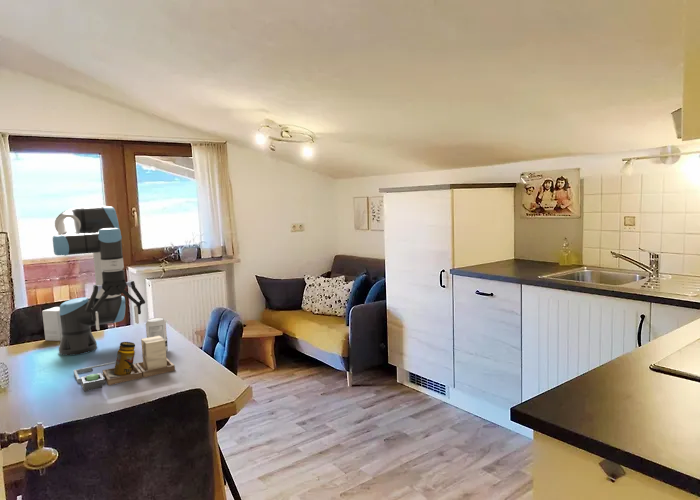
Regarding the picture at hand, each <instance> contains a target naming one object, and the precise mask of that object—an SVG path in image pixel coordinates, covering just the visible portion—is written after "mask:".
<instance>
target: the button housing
mask: <svg viewBox="0 0 700 500" xmlns="http://www.w3.org/2000/svg"><path fill="white" fill-rule="evenodd" d="M97 374H98V375H99V379H96V380H92V381H87V378H86V377H87V376H88V375H84V376H81V377H80V378H81V385H80V386H81V387H82V390H83V391H84V392H89V391H93V390H98V389H103V386H102V385H106V381H105V378H104V376H103V375H102V374H103V372H98V373H97Z"/></svg>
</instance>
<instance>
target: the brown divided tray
mask: <svg viewBox="0 0 700 500" xmlns="http://www.w3.org/2000/svg"><path fill="white" fill-rule="evenodd" d="M166 359H167V366H166V367H162V368H157V369H152V370H148V371H145V369H144V367H143V361H141V362H135V363H133V365H132V371H131V374H129V375H125V376H120V377H115V376H114V377H112V376H111V377H109V376H108V374H107V371H106V370H110V371H114V369H115V367H112V368H106V369H102V374H103V376H104V378H105V384H107V386H113V385H117V384H122V383H126V382H130V381H135V380H139V379H143V378H148V377H153V376H156V375H157V376H158V375H162V374H166V373H170V372H175V371H176V368H175V367H176V366H175V364H174V363H173V362H172V361H171V360H170V359H168V357H166Z"/></svg>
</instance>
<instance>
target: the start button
mask: <svg viewBox="0 0 700 500" xmlns="http://www.w3.org/2000/svg"><path fill="white" fill-rule="evenodd" d="M86 376H87V377H86V378H87V381H92V380H96V379H99V375H98V373H91V374H88V375H86Z"/></svg>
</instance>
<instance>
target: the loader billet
mask: <svg viewBox="0 0 700 500" xmlns="http://www.w3.org/2000/svg"><path fill="white" fill-rule="evenodd" d="M140 341H141V343H140V344H141V351H142V352H141V353H142V362H143V367H144V369H145V371H148V370H152V369H157V368H162V367H166V366H167V359H168V358H167V352H166V346H165V340H164V339H163V338H162V337H161V336H154V337H149V338H147V337H144V338H141V339H140ZM166 358H167V359H166Z"/></svg>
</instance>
